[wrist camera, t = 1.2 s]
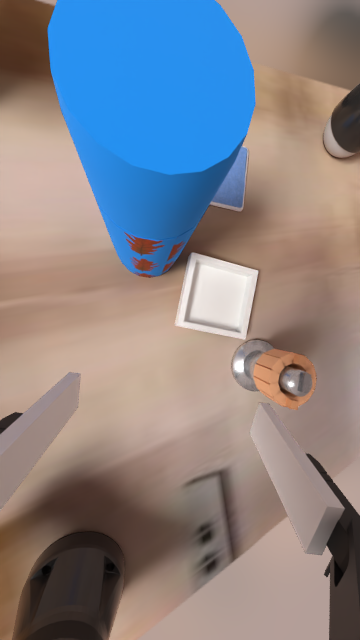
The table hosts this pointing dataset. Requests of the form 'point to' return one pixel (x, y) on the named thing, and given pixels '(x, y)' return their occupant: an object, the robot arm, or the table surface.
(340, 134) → the pump dispenser
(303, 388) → the grey stepped cylinder
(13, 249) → the table surface
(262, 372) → the ring
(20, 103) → the table surface
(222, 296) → the tray
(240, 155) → the tablet computer
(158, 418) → the table surface
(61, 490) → the table surface
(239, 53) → the thermos
